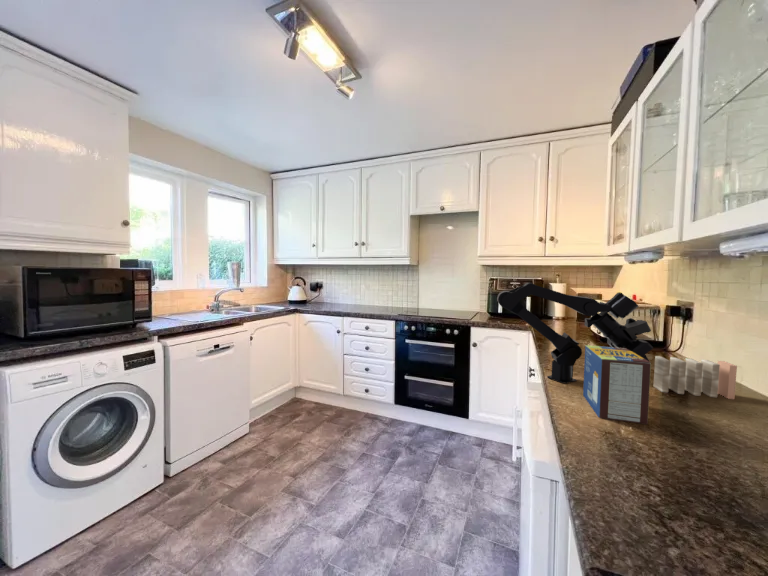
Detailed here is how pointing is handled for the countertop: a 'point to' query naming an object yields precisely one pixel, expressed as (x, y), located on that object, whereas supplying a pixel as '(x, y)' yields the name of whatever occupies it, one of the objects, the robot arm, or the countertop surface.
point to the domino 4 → (710, 378)
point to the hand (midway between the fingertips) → (648, 364)
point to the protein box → (617, 383)
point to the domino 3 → (693, 376)
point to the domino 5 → (727, 379)
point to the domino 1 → (661, 374)
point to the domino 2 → (677, 375)
